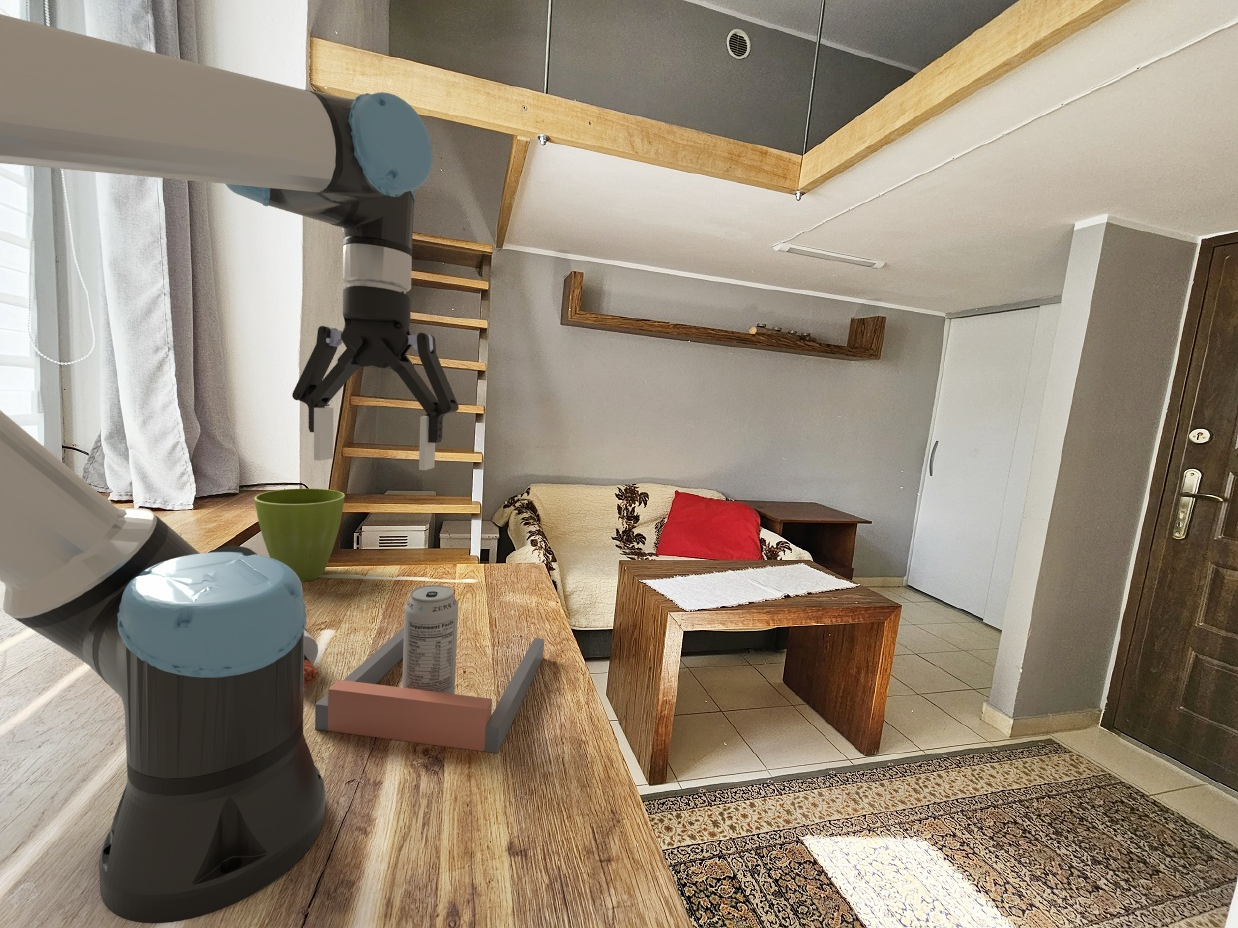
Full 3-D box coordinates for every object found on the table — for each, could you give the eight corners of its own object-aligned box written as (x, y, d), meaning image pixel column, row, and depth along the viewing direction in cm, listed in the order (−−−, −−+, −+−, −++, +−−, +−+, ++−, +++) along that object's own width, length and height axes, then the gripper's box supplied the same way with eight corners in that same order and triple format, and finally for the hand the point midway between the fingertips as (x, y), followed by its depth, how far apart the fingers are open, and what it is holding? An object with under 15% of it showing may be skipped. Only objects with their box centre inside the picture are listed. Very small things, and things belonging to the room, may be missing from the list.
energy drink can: (456, 695, 69) (461, 583, 67) (450, 724, 64) (455, 602, 62) (407, 697, 68) (410, 582, 66) (396, 726, 62) (399, 601, 61)
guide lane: (497, 753, 59) (499, 710, 59) (315, 728, 61) (315, 687, 60) (543, 657, 81) (545, 626, 80) (407, 642, 83) (408, 610, 82)
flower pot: (307, 594, 97) (308, 507, 95) (234, 583, 100) (233, 498, 98) (359, 569, 112) (361, 493, 110) (295, 560, 114) (295, 485, 112)
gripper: (488, 301, 68) (481, 468, 71) (301, 289, 70) (301, 452, 73) (466, 289, 60) (459, 477, 63) (257, 277, 63) (259, 458, 65)
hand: (374, 464), depth 68 cm, fingers open, 13 cm apart
